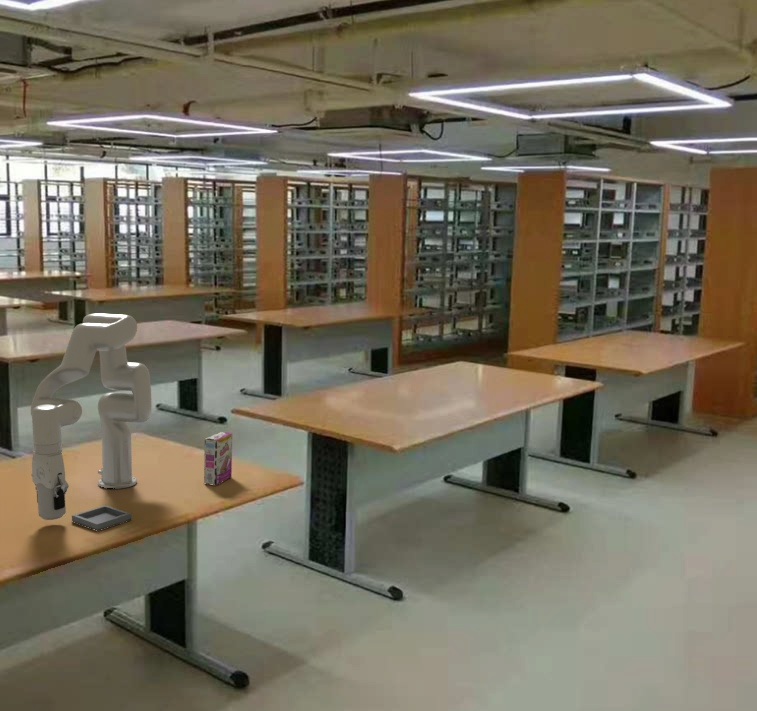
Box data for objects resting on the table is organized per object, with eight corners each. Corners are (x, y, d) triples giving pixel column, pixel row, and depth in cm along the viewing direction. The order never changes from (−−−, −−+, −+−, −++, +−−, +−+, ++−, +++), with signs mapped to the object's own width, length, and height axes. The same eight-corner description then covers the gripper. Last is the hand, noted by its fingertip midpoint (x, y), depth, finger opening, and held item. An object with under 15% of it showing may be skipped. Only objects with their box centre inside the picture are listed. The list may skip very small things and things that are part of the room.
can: (70, 516, 245) (68, 477, 243) (46, 523, 240) (44, 483, 237) (58, 509, 250) (56, 471, 248) (34, 516, 245) (31, 477, 242)
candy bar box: (216, 486, 285) (216, 440, 282) (203, 484, 287) (203, 438, 284) (232, 477, 295) (232, 432, 293) (220, 475, 297) (220, 431, 295)
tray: (72, 522, 248) (71, 515, 247) (105, 511, 257) (105, 504, 257) (97, 531, 241) (97, 524, 241) (131, 520, 251) (131, 513, 250)
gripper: (18, 445, 242) (22, 502, 246) (54, 456, 233) (57, 516, 236) (41, 439, 249) (44, 495, 252) (77, 450, 239) (80, 508, 242)
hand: (51, 505), depth 244 cm, fingers closed on can, 7 cm apart
